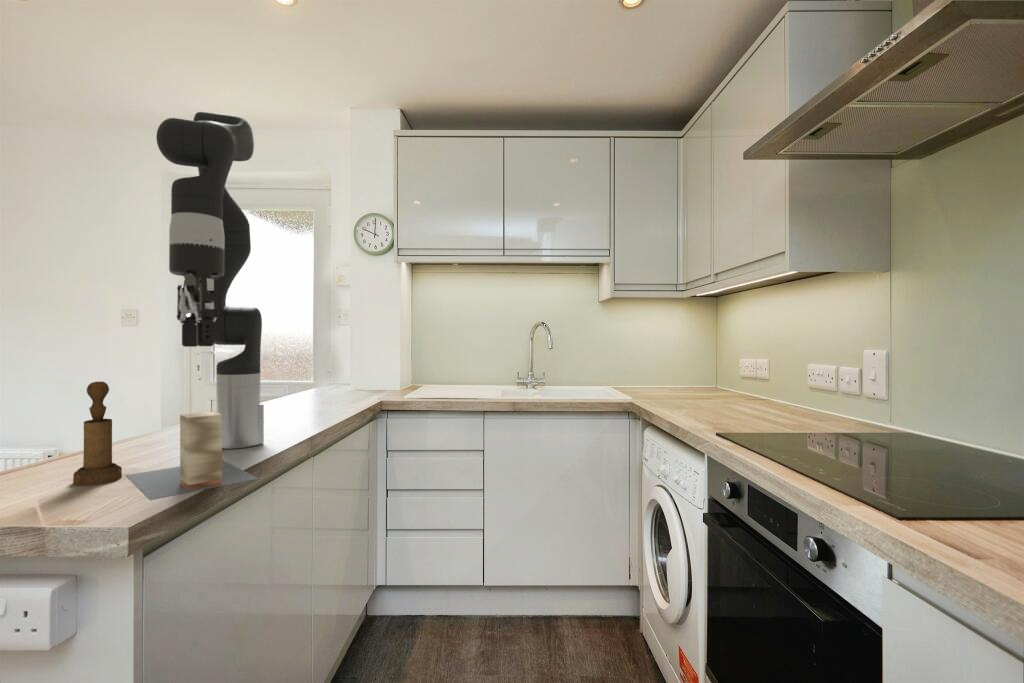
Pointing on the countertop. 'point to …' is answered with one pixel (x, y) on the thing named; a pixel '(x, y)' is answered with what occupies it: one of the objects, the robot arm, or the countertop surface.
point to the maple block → (200, 449)
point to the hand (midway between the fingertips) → (197, 346)
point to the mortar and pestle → (97, 443)
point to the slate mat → (169, 481)
